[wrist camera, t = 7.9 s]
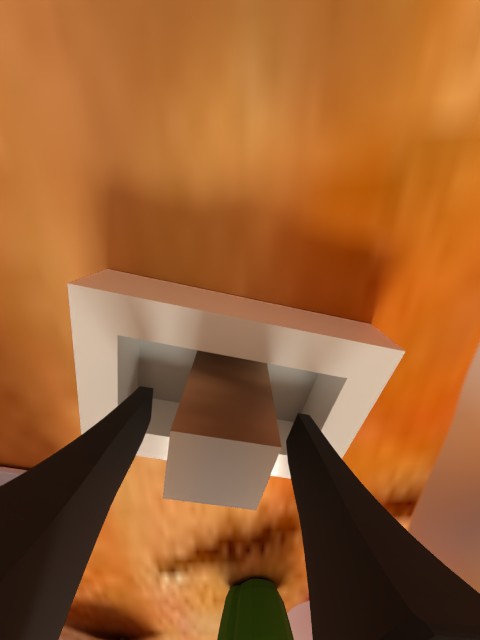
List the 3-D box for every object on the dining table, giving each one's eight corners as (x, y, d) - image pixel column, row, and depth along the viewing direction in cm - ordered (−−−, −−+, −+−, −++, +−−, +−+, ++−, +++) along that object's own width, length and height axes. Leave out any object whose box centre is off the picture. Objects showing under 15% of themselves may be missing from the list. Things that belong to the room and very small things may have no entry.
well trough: (110, 408, 16) (82, 447, 13) (107, 268, 12) (67, 283, 9) (313, 441, 17) (326, 483, 14) (371, 324, 13) (405, 351, 10)
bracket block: (191, 396, 15) (162, 498, 9) (199, 344, 13) (170, 430, 8) (251, 405, 15) (256, 510, 10) (265, 355, 14) (281, 447, 8)
